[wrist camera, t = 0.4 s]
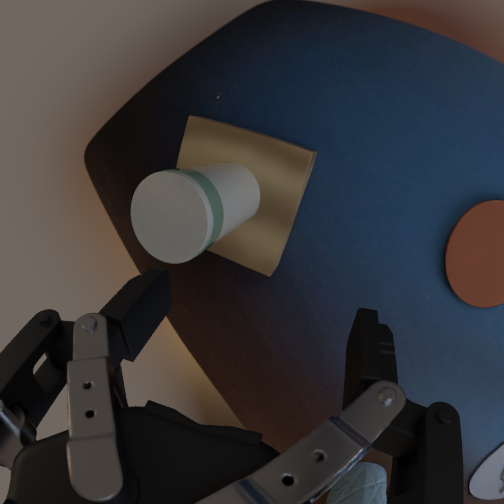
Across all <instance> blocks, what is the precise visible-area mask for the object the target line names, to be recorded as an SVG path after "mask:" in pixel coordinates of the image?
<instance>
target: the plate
mask: <svg viewBox="0 0 504 504" xmlns="http://www.w3.org/2000/svg"><path fill="white" fill-rule="evenodd" d="M469 488H470V492H471V494H472V495H474V496H475V497H477V498H480V499H487V500H489V499H499V498H504V443H503V444H502V445H501V446H499V447H498V448H497V449H496V450H495V451H494V452H492V453H491V454H490V455H489V456H488V457H487V458H486V459H485V460H484V461H483V462H482V463H481V465H480V466H479V467H478V468H477V470H476V471H475V472H474V474H473V476H472V478H471V480H470V485H469Z"/></svg>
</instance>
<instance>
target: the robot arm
mask: <svg viewBox="0 0 504 504" xmlns="http://www.w3.org/2000/svg"><path fill="white" fill-rule="evenodd" d="M171 304H172V294H171V285H170V275H169V271H168V270H166V269H161V268H157V267H150V268H149V269H148V270H147V271H146V272H145V273H144V274H143V275H142V276H141V275H138V276H136V277H134V278H132V279H131V280H129V281H128V282H127V283H126V284H125V285H124V286H123V287H122V289H120V290H119V291H118V292H117V294H116V295H114V297H113V298H112V299H111V300H110V301H109V302H108V303H107V304H106V305H105V306H104V307H103V308H102V309H101V310H100V311H99V313H88V314H85V315H83V316H81V317H80V318H78V319H77V320H76V322H73V321H61V319H60V316H59V314H58V312H57V311H55V310H51V309H47V310H43V311H40V312H39V313H37V314H36V315H35V316H34V317H33V318H32V319H31V320H30V321H29V322H28V323H27V324H26V325H25V326H24V327H23V328H22V330H21V331H20V332H19V333H18V334H17V335H16V336H15V337H14V338H13V340H12V341H11V342H10V343H9V344H8V345H7V346H6V347H5V349H4V350H3V351H2V352H1V353H0V466H3V467H7V468H8V469H9V470H11V480H10V486H9V491H8V494H7V497H6V500H5V502H4V503H3V504H312V503H313V502H315V501H316V500H317V499H318V498H320V497H321V496H322V495H323V494H324V493H325V492H327V491H328V490H329V489H330V488H331V487H332V486H333V485H334V484H335V483H336V482H337V481H338V480H340V479H341V478H342V477H343V476H344V475H345V474H346V473H347V472H348V471H349V470H350V469H351V468H352V467H353V466H354V465H355V464H356V463H357V462H358V461H359V460H360V459H361V458H362V457H363V456H364V455H365V454H366V453H367V452H368V451H369V450H370V449H371V448H374V449H376V450H379V451H381V452H384V453H386V454H389V455H391V456H393V462H392V472H391V482H390V490H389V498H388V504H463V454H462V439H461V427H460V418H459V414H458V412H457V411H456V409H455V408H454V407H453V406H451V405H450V404H448V403H445V402H435V403H433V404H431V405H430V406H429V407H428V408H426V407H424V406H421V405H419V404H416V403H414V402H411V401H410V400H408V399H407V398H406V395H405V393H404V391H403V389H402V388H401V387H400V386H399V385H398V378H397V367H396V357H395V348H394V339H393V334H392V332H391V331H390V329H389V327H388V326H387V325H385V324H379V323H378V313H377V310H372V309H365V308H358V311H357V314H356V317H355V320H354V323H353V326H352V329H351V332H350V335H349V338H348V342H347V348H346V366H345V382H344V396H343V408H342V413H340V414H339V415H338V416H337V417H335V418H334V417H333V416H332V417H330V418H328V419H327V420H325V421H324V422H323V423H322V424H320V425H319V426H318V427H317V428H315V429H314V430H313V431H311V432H310V433H309V434H308V435H306V436H305V437H304V438H302V439H301V440H300V441H298V442H297V443H296V444H294V445H293V446H292V447H290V448H289V449H288V450H286V451H285V452H283V453H282V454H280V453H279V452H277V451H276V450H275V449H274V448H272V447H271V446H269V445H267V444H266V443H264V442H261V439H262V433H257V432H253V431H249V430H244V429H240V428H236V427H230V426H213V425H201V424H198V423H196V422H194V421H193V420H191V419H190V418H188V417H186V416H184V415H183V414H181V413H180V412H178V411H177V410H175V409H172V408H170V407H166V406H164V405H161V404H158V403H156V402H153V401H150V400H148V402H147V403H146V405H145V407H138V406H137V407H136V406H135V407H128V403H127V399H126V393H125V388H124V382H123V375H122V369H121V365H120V363H121V361H122V360H123V359H126V360H128V361H131V362H133V361H134V360H135V358H136V357H137V356H138V354H139V353H140V351H141V350H142V349H143V347H144V346H145V344H146V343H147V341H148V340H149V339H150V337H151V336H152V334H153V333H154V332H155V330H156V329H157V327H158V326H159V324H160V323H161V322H162V320H163V319H164V318H165V316H166V315H167V313H168V312H169V310H170V308H171ZM44 353H45V355H46V357H47V359H46V360H45V361H44V362H43V364H42V365H41V366H40V367H39V369H38V370H37V371H36V373H35V374H34V375H33V368H34V366H35V364H36V363H37V361H38V360H39V359H40V358H41V356H42V355H43V354H44ZM66 383H67V407H68V427H69V429H68V430H66V431H63V432H60V433H58V434H55V435H52V436H50V437H47V438H44V439H41V440H39V441H37V440H36V435H37V431H36V428H37V427H38V425H39V423H40V422H41V420H42V419H43V417H44V416H45V414H46V413H47V411H48V410H49V408H50V406H51V405H52V404H53V402H54V401H55V399H56V397H57V396H58V394H59V393H60V392H61V391H62V389H63V388H64V386H65V385H66Z"/></svg>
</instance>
